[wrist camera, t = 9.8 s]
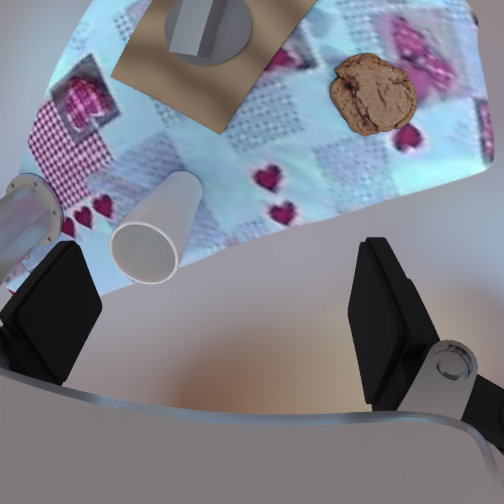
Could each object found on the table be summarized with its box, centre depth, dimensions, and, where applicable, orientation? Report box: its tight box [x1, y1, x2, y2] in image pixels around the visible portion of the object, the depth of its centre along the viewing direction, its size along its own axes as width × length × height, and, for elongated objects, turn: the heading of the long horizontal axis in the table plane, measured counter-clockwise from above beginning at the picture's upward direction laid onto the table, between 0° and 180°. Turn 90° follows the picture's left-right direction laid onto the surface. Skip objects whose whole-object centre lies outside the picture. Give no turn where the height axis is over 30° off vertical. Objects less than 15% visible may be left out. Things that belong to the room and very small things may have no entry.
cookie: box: [330, 53, 417, 136], centre depth 29 cm, size 10×11×3 cm
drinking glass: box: [109, 171, 203, 284], centre depth 32 cm, size 7×7×15 cm
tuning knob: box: [164, 0, 253, 65], centre depth 22 cm, size 11×9×7 cm
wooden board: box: [111, 0, 317, 135], centre depth 27 cm, size 20×15×2 cm
